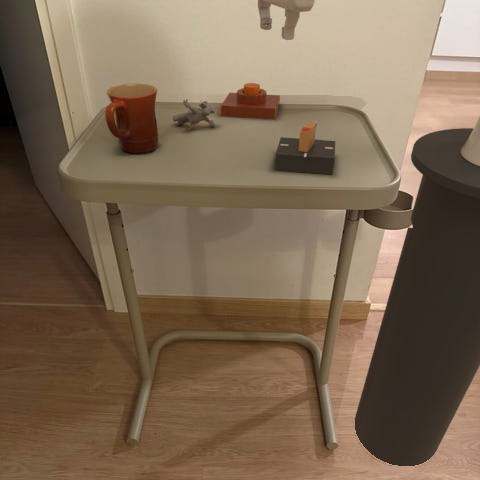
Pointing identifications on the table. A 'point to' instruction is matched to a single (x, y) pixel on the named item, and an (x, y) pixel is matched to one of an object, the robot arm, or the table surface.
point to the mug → (133, 117)
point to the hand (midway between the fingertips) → (276, 34)
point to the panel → (305, 157)
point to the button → (251, 88)
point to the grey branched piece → (195, 114)
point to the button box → (250, 105)
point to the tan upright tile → (307, 136)
